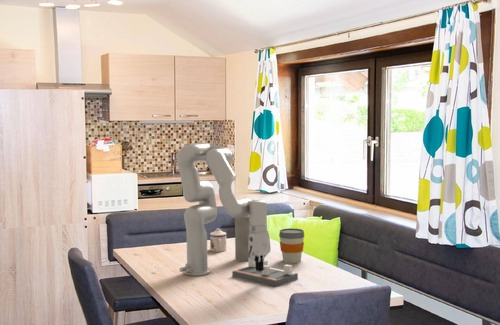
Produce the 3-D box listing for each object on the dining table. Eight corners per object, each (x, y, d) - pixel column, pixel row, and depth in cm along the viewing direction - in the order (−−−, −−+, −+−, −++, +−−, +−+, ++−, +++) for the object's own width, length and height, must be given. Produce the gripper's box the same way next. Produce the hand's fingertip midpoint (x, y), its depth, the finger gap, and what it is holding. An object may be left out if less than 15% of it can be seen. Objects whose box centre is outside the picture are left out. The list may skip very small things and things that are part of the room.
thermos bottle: (236, 257, 323) (235, 203, 321) (251, 257, 323) (251, 203, 320) (234, 261, 315) (233, 205, 313) (250, 261, 315) (249, 205, 312)
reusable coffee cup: (289, 256, 325) (288, 227, 324) (309, 259, 317) (309, 230, 316) (274, 261, 316) (274, 231, 314) (294, 264, 308) (294, 234, 306)
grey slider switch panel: (275, 286, 271) (275, 271, 270) (232, 276, 287) (232, 262, 287) (297, 278, 283) (297, 264, 282) (255, 269, 299) (255, 255, 299)
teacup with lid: (209, 248, 344) (208, 227, 343) (225, 247, 345) (225, 226, 344) (211, 253, 332) (211, 231, 331) (228, 252, 333) (228, 231, 332)
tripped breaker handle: (266, 275, 278) (266, 267, 278) (261, 274, 280) (261, 265, 280) (269, 274, 280) (269, 266, 279) (264, 273, 282) (264, 265, 281)
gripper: (253, 232, 266) (254, 275, 268) (275, 226, 277) (277, 268, 279) (240, 230, 271) (241, 272, 272) (262, 225, 282) (264, 265, 284)
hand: (259, 270), depth 276 cm, fingers closed
